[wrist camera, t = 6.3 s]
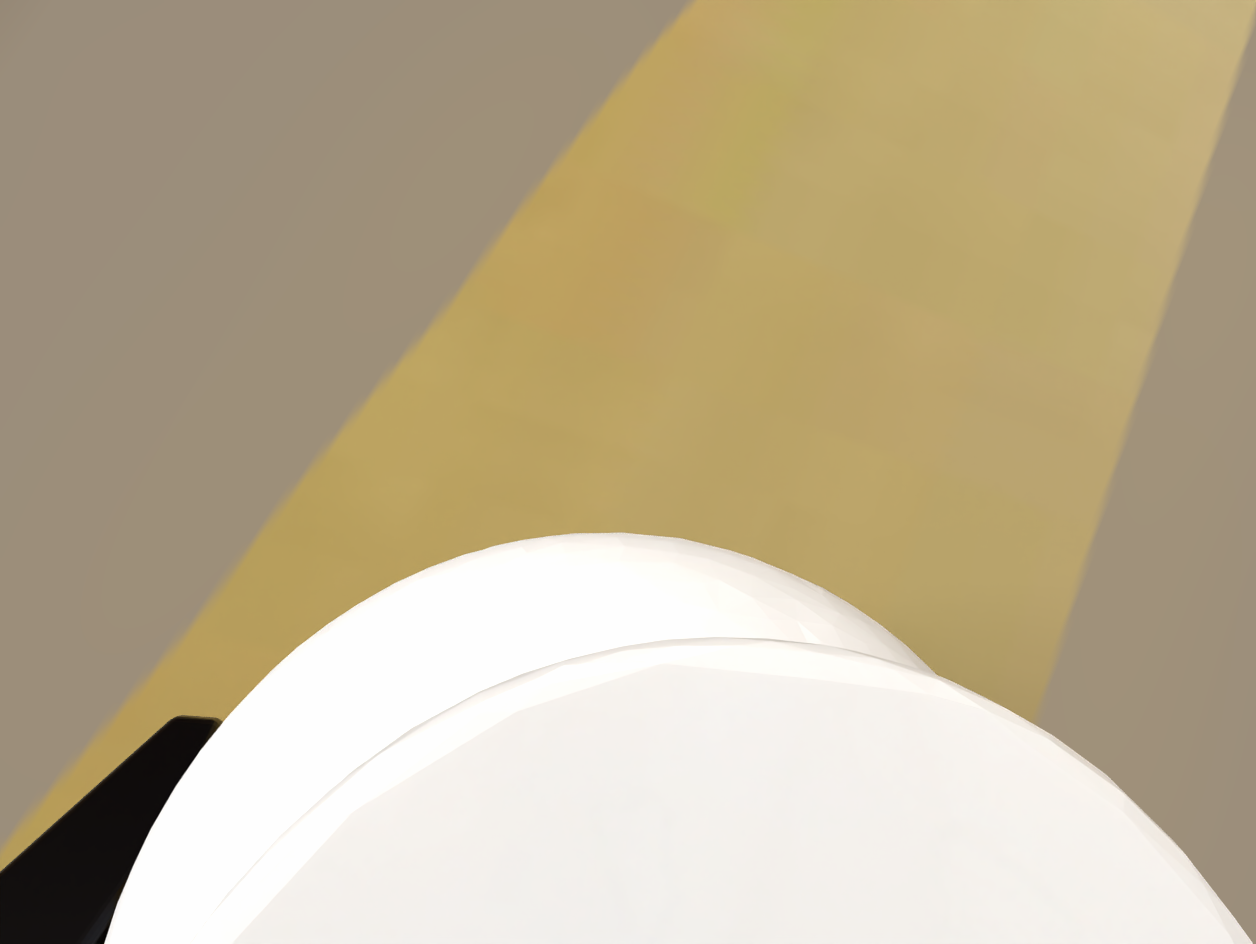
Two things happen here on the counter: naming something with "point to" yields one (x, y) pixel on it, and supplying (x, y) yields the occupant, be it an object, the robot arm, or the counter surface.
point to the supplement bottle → (641, 779)
